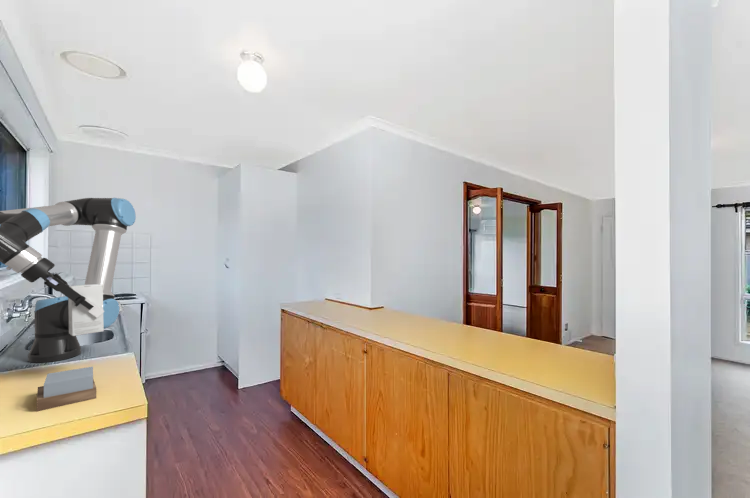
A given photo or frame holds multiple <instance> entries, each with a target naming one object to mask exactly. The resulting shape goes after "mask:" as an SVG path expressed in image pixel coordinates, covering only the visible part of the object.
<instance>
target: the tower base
mask: <svg viewBox="0 0 750 498" xmlns="http://www.w3.org/2000/svg"><path fill="white" fill-rule="evenodd" d="M36 392H37V393H36V413H37V412H41V411H42V412H43V411H46V410H50V409H54V408H60V407H65V406H70V405H72V404H73V405H74V404H77V403H81V402H86V401H90V400H91V401H92V400H94V399H97V386H96V381H94V378H93V389H87V390H82V391H77V392H72V393H67V394H61V395H56V396H51V397H46V398H44V385H41V386H38V387H37V391H36Z"/></svg>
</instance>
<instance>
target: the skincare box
mask: <svg viewBox="0 0 750 498" xmlns="http://www.w3.org/2000/svg"><path fill="white" fill-rule="evenodd" d="M69 287H70V288H72V289H73V290H75V291H76V292H77V293H79V294H80V295H82V296H83V297H85V298H87V299H88V300H90V301H91V302H92V303H94V304H95V305H97V306H98V307H99V308H101V309H102V310H103V285H101V284H90V285H85V284H79V285H77V284H76V285H69ZM75 304H76V303H75V302H74V301H72V300H71V299H69V298H68V305H69V334H70V335H72V336H76V337H77V336H81V335H82V336H83V335H87V334H88V335H89V334H95V333H101V332H104V331H105V330H104V322H103V313H102V314H101V315H100V316H99V317H98V318H97V317H95V316H94V315H92V314H91V313H89V312H88V311H86V310H85V309H84V308H82V307H81V306H79V305H78V306H77V307H76V306H75Z"/></svg>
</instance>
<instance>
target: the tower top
mask: <svg viewBox="0 0 750 498" xmlns="http://www.w3.org/2000/svg"><path fill="white" fill-rule="evenodd" d="M93 379H94V366H88V367H82V368H80V367H79V368H76V369H75V368H74V369H68V370H62V371H56V372H50V373H47V374H46V377H45V381H44V383H43V386H44V398H46V397H51V396H56V395H61V394H67V393H72V392H77V391H82V390H87V389H93Z"/></svg>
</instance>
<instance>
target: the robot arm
mask: <svg viewBox="0 0 750 498" xmlns="http://www.w3.org/2000/svg"><path fill="white" fill-rule="evenodd" d="M136 218H137V217H136V211H135V208H134V206H133V204H132V203H131V202H130V201H129V200H127V199H126V198H121V197H120V198H119V197H85V198H78V199H72V200H67V201H66V200H65V201H59V202H57V203H55V204H54V205H46V206H45V205H44V206H35V207H27V208H17V209H16V208H15V209H7V210H6V209H5V210H0V263H1V264H3V265H5V266H6V268H5V269H6V270H7V271H10V270H12V271H13V272H15V273H16V274H20V276H21V277H22V278H24V279H25V280H26V281H28V282H30V283H35V282H36V281H38V280H39V279H42V280H44V282H43V284H44V285H46V286H47V287H49V288H52V290H54V291H56V292H59V293H61V295H63V296H58V297H57V296H56V297H51V298H45V299H39V300H37V301H36V302H35V305H34V306H35V307H34V340H33V342H32V345H31V347H30V350H29V352H28V354H27V361H28V362H29V363H36V364H37V363H38V364H39V363H50V362H57V361H61V360H62V361H63V360H67V359H70V358H71V359H72V358H74V357H76V356H79V355H81V354H82V348H81V347H82V346H81V345H80V342H79V339H78V337H77V336H72V335H70V334H69V305H68V298H69V299H71V300H72V301H74V302H75V303H76V304H75V306H76V307H77V306H78V305H79V306H81V307H82V308H84V309H85V310H86V311H88V312H89V313H91V314H92V315H94V316H95V317H97V318H98V317H99V316H100V315H101V314H102V313H103V322H104V329H108V328H110V327H111V326H112V325H113V324H114V323H115V322H116V320H117V319H118V317H119V313H120V304H119V302H118V301H117V300H116V299H115V295H114V293H113V292H112V288H113V287H112V286H113V281H114V276H115V270H116V265H117V260H118V255H119V250H120V249H119V248H120V243H121V237H122V235H124V234H125V233H126V232H127V230H128V227H131V226H133V225H134V224H135V222H136ZM60 225H61V226H63V227H64V226H65V227H66V226H67V227H68V226H91V228H92V230H94V231H95V232H94V236H93V237H94V238H93V242H92V246H91V247H92V248H91V253H90V257H89V261H88V266H87V272H86V276H85V281H84V285H90V284H101V285H103V310H102V309H101V308H99V307H98V306H97V305H95V304H94V303H92V302H91V301H90V300H88V299H87V298H85V297H83V296H82V295H80V294H79V293H77V292H76V291H75V290H73V289H72V288H70V287H69V286H70V285H69V284H68V282H67V281H66V280H65V279H63V278H62V277H61V276H60V275H59V274H58V273H54V274H52V272H50V271H51V270H52V269H53V268H54V267H55V266H56V265H55V263H53V261H51V260H49V259H48V258H47V257H42V256H43V254H41V253H40V252H38V250H35V248H33V246H30V245H29V244H27V242H28V241H30V240H31V239H33V238H35V237H36V236H38V235H40V234H42V233H43V232H44V231H45V230H47V228H49V227H54V226H60ZM126 234H127V233H126Z"/></svg>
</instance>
